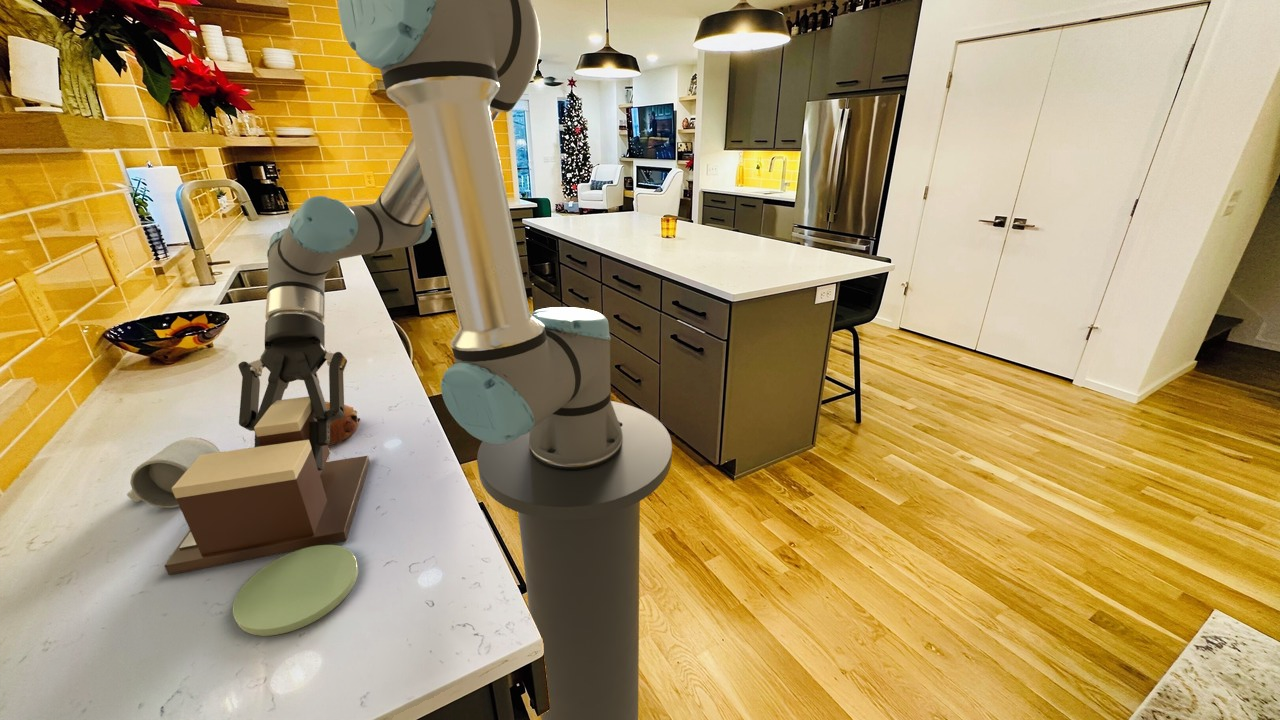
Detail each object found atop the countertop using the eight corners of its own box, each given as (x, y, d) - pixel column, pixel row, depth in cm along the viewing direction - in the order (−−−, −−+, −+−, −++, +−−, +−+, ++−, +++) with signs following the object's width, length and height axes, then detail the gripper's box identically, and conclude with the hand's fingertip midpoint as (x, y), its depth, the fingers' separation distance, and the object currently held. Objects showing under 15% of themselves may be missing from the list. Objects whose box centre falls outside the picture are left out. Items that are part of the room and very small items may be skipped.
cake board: (370, 463, 80) (368, 455, 80) (346, 540, 65) (344, 531, 64) (230, 484, 75) (227, 476, 75) (168, 575, 59) (163, 565, 59)
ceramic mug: (233, 470, 78) (216, 428, 75) (204, 504, 71) (183, 459, 68) (154, 480, 76) (133, 437, 73) (116, 516, 69) (90, 470, 66)
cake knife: (228, 480, 74) (226, 473, 73) (244, 477, 74) (242, 471, 74) (179, 549, 61) (176, 542, 61) (199, 546, 62) (195, 538, 61)
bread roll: (316, 440, 93) (284, 409, 89) (367, 410, 95) (337, 379, 90) (307, 469, 85) (271, 437, 81) (363, 436, 86) (330, 403, 82)
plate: (366, 541, 65) (364, 535, 64) (347, 618, 54) (345, 612, 54) (258, 563, 61) (256, 556, 61) (215, 649, 51) (212, 642, 50)
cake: (327, 500, 70) (309, 439, 66) (314, 534, 64) (292, 469, 60) (225, 518, 66) (200, 454, 62) (201, 556, 60) (171, 488, 56)
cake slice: (330, 453, 77) (313, 395, 73) (316, 483, 70) (297, 421, 66) (293, 458, 76) (274, 400, 72) (275, 490, 69) (253, 427, 65)
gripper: (367, 327, 83) (371, 466, 75) (239, 339, 78) (229, 489, 70) (353, 305, 76) (357, 455, 68) (212, 317, 71) (198, 480, 63)
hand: (292, 472), depth 69 cm, fingers closed on cake slice, 5 cm apart
